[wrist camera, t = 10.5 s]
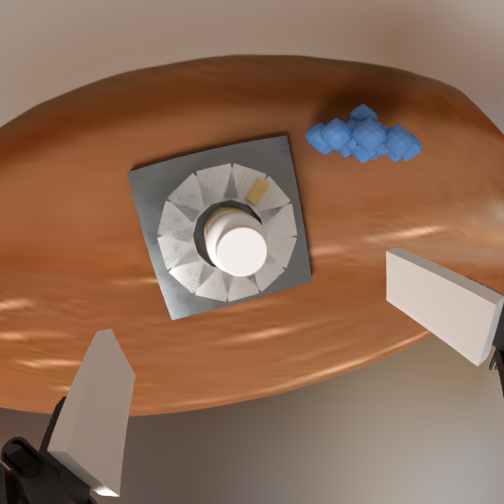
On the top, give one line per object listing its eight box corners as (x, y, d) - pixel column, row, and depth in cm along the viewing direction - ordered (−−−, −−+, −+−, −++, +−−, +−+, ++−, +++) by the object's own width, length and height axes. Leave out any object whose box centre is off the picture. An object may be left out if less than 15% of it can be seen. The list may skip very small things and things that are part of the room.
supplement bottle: (248, 255, 32) (271, 287, 22) (201, 251, 30) (204, 283, 21) (255, 208, 30) (281, 221, 21) (206, 203, 29) (211, 214, 20)
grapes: (374, 121, 31) (438, 110, 20) (373, 169, 33) (439, 173, 22) (294, 105, 29) (345, 75, 18) (293, 159, 31) (345, 153, 20)
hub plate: (172, 316, 33) (170, 335, 29) (129, 172, 27) (118, 172, 23) (309, 278, 35) (324, 292, 31) (284, 136, 30) (298, 130, 26)
